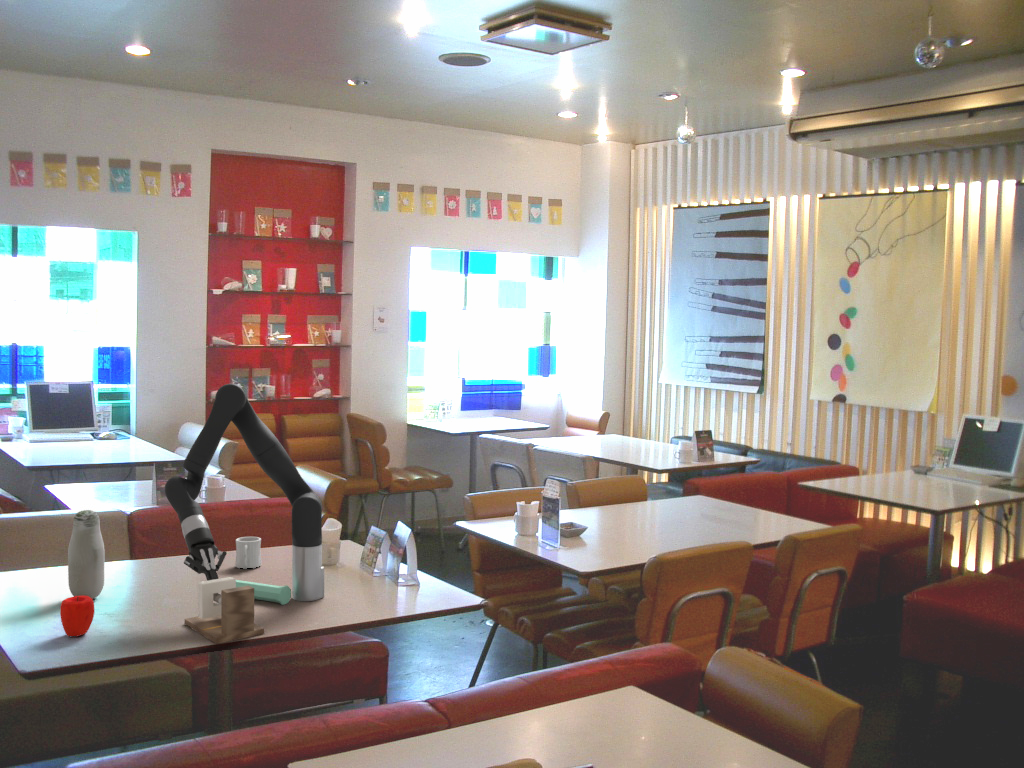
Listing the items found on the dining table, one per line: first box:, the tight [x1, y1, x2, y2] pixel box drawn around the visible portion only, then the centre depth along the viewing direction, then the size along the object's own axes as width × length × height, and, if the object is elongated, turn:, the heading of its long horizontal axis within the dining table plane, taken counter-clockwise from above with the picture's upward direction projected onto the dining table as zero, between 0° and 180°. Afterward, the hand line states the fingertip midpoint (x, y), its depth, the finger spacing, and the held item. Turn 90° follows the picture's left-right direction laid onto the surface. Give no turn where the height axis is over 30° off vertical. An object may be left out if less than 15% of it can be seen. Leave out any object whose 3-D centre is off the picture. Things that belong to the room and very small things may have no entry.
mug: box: [234, 536, 262, 570], centre depth 344 cm, size 12×9×10 cm
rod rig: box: [184, 585, 265, 644], centre depth 274 cm, size 14×22×14 cm, turn 41°
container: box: [236, 579, 292, 606], centre depth 306 cm, size 6×6×25 cm
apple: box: [59, 596, 95, 637], centre depth 267 cm, size 9×9×11 cm
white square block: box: [197, 576, 237, 619], centre depth 278 cm, size 10×3×10 cm, turn 131°
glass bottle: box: [67, 509, 106, 600], centre depth 301 cm, size 10×10×28 cm
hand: (214, 582), depth 279 cm, fingers closed
